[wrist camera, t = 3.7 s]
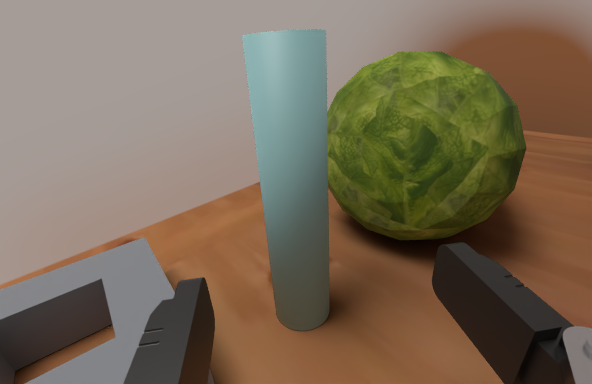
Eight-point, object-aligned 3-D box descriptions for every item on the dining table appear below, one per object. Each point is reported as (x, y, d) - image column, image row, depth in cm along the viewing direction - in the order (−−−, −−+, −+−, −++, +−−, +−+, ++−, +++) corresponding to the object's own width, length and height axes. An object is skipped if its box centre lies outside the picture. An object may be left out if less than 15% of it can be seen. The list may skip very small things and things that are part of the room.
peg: (306, 281, 24) (292, 36, 16) (341, 309, 21) (344, 29, 14) (265, 305, 22) (227, 37, 14) (298, 341, 19) (272, 29, 11)
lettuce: (436, 217, 44) (554, 143, 34) (382, 293, 25) (606, 178, 16) (365, 135, 47) (454, 47, 38) (273, 149, 29) (402, -15, 19)
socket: (157, 274, 26) (144, 237, 24) (217, 391, 17) (203, 343, 15) (-50, 364, 19) (-87, 321, 17) (-150, 655, 10) (-255, 623, 8)
